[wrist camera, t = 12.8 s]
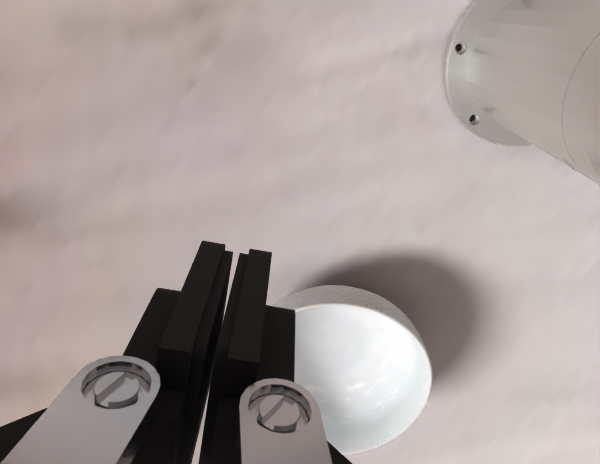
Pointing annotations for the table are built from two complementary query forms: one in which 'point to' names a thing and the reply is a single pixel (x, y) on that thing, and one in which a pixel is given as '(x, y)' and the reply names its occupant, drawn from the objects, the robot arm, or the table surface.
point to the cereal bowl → (359, 364)
